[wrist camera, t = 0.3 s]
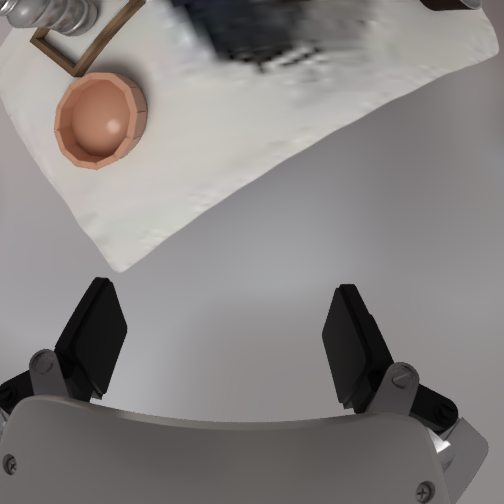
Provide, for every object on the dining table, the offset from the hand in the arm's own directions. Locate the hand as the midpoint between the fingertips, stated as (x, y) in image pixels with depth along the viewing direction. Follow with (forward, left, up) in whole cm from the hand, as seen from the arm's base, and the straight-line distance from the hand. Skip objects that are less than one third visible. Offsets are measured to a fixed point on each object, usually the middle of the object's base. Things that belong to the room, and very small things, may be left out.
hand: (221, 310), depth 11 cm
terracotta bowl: (+9, -19, -31) cm, 38 cm away
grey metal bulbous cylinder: (-1, -35, -31) cm, 47 cm away
